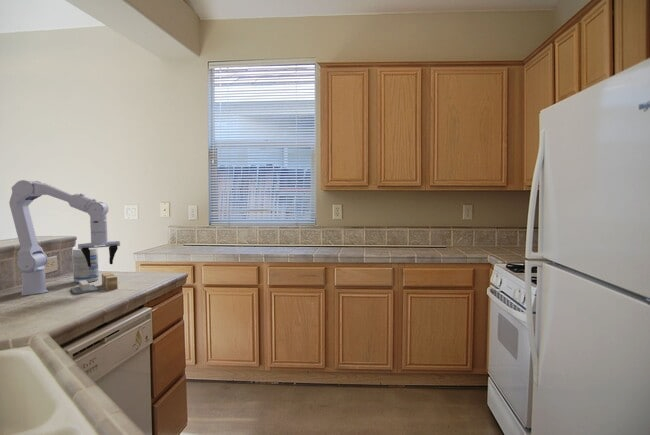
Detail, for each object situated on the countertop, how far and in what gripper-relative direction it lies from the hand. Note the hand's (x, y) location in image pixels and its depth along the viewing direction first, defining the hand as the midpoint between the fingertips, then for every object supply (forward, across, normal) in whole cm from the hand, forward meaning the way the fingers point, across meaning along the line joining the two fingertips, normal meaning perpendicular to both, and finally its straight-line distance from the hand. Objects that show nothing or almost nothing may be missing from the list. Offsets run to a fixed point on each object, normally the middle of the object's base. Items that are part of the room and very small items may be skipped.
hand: (100, 265), depth 151 cm
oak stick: (+10, +4, +3) cm, 11 cm away
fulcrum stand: (+10, -6, +3) cm, 12 cm away
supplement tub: (+10, -2, +22) cm, 24 cm away
